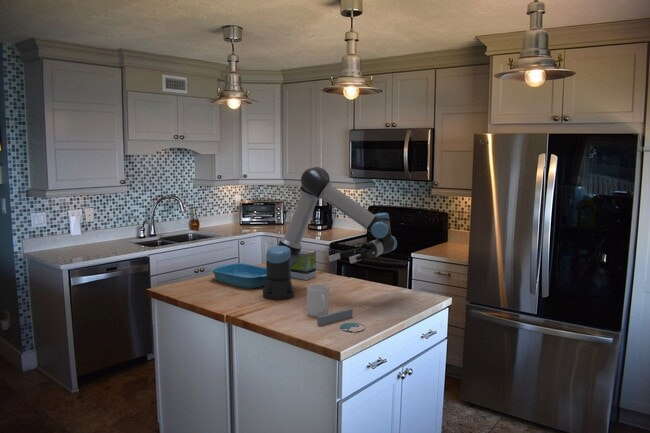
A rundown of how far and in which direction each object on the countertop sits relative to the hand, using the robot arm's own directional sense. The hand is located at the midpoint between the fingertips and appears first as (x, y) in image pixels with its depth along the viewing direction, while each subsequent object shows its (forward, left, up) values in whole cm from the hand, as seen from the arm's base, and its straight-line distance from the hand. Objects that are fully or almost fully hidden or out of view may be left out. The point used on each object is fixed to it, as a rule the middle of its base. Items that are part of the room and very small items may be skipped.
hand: (339, 259), depth 232 cm
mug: (-11, -10, -22) cm, 26 cm away
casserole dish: (-42, +49, -22) cm, 68 cm away
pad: (0, -28, -22) cm, 35 cm away
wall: (-5, -19, -22) cm, 29 cm away
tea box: (-11, +56, -22) cm, 62 cm away
